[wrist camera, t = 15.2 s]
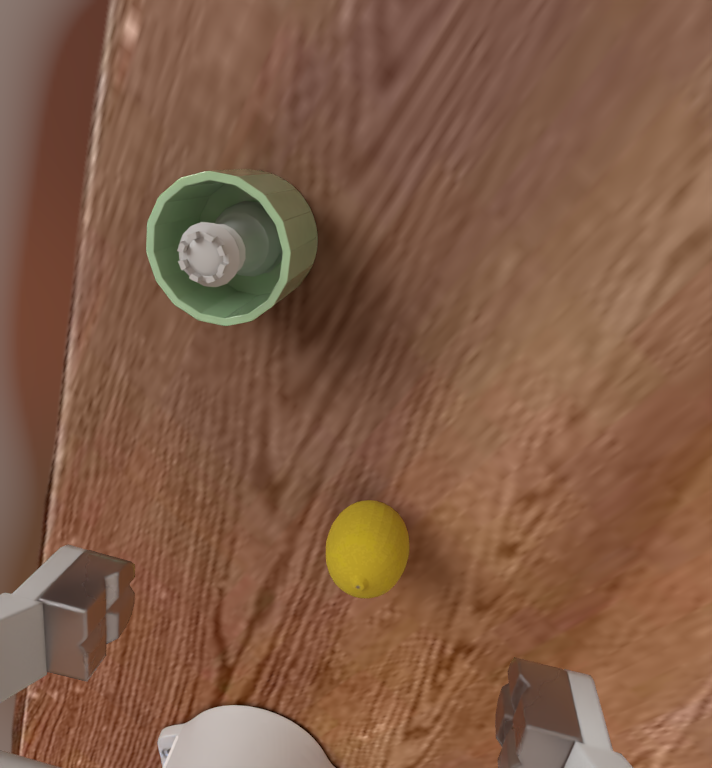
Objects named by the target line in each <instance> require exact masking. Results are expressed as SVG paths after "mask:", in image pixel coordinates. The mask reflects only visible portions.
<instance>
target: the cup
mask: <svg viewBox="0 0 712 768" xmlns="http://www.w3.org/2000/svg"><path fill="white" fill-rule="evenodd" d="M243 201H252V202H259V203H261V205H262V206H263V207H264V209H265V210H266V212H267V213H268V215H269V216H270V217H271V219H272V220H273V222H274V223H275V225H276V228H277V232H278V236H279V240H280V244H281V247H282V251H283V254H282V260H281V262H280V263H279V264H278V265H277V266H276V267H275V268H274V269H273V270H272V271H270V272H267V273H264V274H261V275H257V276H254V277H252V276H241V275H238V274H236V275H235V276H234V277H233V278H232V279H231V280H230V281H229V282H228V283H227V284H224V285H221V286H218V287H208V286H203V285H201V284H199V283H197V282H195V281H193V280H191V279H189V277H190V276H189V275H188V274H187V273H186V272H185V271H184V270H181V268H180V265H179V263H178V261H179V260H180V259H179V251H177V250H178V247H179V244H180V241H181V238H182V235H183V234H184V233H185V232H186V231H187V229H188V228H189V227H190V226H192V225H195V224H198V223H200V222H208V223H215V222H216V219H217V218H218V217H219V216H220V214H221V213H222V212H223V211H224V210H225V209H226V208H228V207H231V206H232V205H235V204H237V203H240V202H243ZM317 244H318V237H317V228H316V223H315V220H314V216H313V214H312V211H311V209H310V207H309V205H308V204H307V202H306V200H305V199H304V198H303V196H302V195H301V194H300V192H299V191H298V190H297V189H296V188H295V187H294V186H292V185H291V184H290V183H288V182H287V181H286V180H284V179H282V178H281V177H279V176H276V175H274V174H272V173H268V172H264V171H258V170H251V169H237V170H215V171H205V172H201V173H197V174H193V175H189V176H185V177H181V178H179V179H178V180H177V181H176V182H175V183H174V184H173V185H171V186H170V187H169V188H168V189H167V190H166V191H164V192H163V193H162V194H161V195H160V196H159V197H158V199H157V202H156V204H155V206H154V208H153V211H152V213H151V215H150V217H149V220H148V222H147V245H146V252H147V256H148V259H149V262H150V265H151V268H152V271H153V274H154V277H155V280H156V282H157V283H158V284H159V286H160V287H161V288H162V289H163V291H164V292H165V293H166V295H167V296H168V297H169V299H170V300H171V301H172V302H173V304H175V305H176V306H177V307H179V308H180V309H182V310H183V311H185V312H186V313H188V314H189V315H191V316H193V317H194V318H196V319H197V320H199V321H204V322H208V323H213V324H218V325H222V326H229V325H235V324H240V323H245V322H251V321H253V320H254V319H256V318H257V317H259V316H260V315H261V314H263V313H264V312H266V311H267V310H269V309H270V308H271V307H273V306H274V305H275V304H277V303H278V302H279V301H280V300H282V299H283V298H284V297H285V296H287V295H288V294H289V293H290V292H292V291H293V290H294V289H295V288H297V287H298V286H299V285H300V284H301V283H302V281H303V280H304V279H305V278H306V276H307V275H308V273H309V272H310V270H311V268H312V266H313V263H314V260H315V257H316V252H317Z"/></svg>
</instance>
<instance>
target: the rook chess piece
mask: <svg viewBox="0 0 712 768" xmlns="http://www.w3.org/2000/svg"><path fill="white" fill-rule="evenodd" d="M177 251H179V259H180V260H179V261H178V263H179V265H180V268H181V270H184V271H185V272H186V273H187V274H188V275H189V276H190V277H189V279H191V280H193V281H195V282H197V283H199V284H201V285H203V286H208V287H218V286H221V285H224V284H227V283H228V282H229V281H230V280H231V279H232V278H233V277H234V276H235V275H236V274H238V275H241V276H252V277H254V276H257V275H261V274H264V273H267V272H270V271H272V270H273V269H274V268H275V267H276V266H277V265H278V264H279V263H280V262H281V260H282V254H283V251H282V247H281V244H280V240H279V236H278V232H277V228H276V225H275V223H274V222H273V220H272V219H271V217H270V216H269V215H268V213H267V212H266V210H265V209H264V207H263V206H262V205H261V203H259V202H252V201H243V202H240V203H237V204H235V205H232V206H231V207H228V208H226V209H225V210H224V211H223V212H222V213H221V214H220V216H219V217H218V218H217V219H216V222H215V223H208V222H200V223H198V224H195V225H192V226H190V227H189V228H188V229H187V231H186V232H185V233H184V234H183V235H182V238H181V241H180V244H179V247H178V250H177Z"/></svg>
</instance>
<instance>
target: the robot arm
mask: <svg viewBox="0 0 712 768" xmlns="http://www.w3.org/2000/svg"><path fill="white" fill-rule="evenodd" d="M134 577H135V564H133V563H132V562H131V561H127V560H123V559H120V558H116V557H113V556H109V555H105V554H102V553H98V552H95V551H91V550H85V549H82V548H78V547H75V546H71V545H66V546H63V547H61V548H59V549H58V550H57V551H56V552H55V553H54V554H53V555H52V556H51V557H50V558H49V559H48V560H47V561H46V562H45V563H44V564H43V565H42V566H41V567H40V568H39V569H37V570H36V571H35V572H34V573H33V574H32V575H31V576H30V577H29V578H28V579H27V580H26V581H25V582H24V583H23V584H22V585H21V586H20V587H19V588H18V589H17V590H16V591H14V593H12V594H9V593H3V594H0V703H1V702H3V701H4V700H6V699H8V698H9V697H11V696H13V695H14V694H16V693H17V692H19V691H21V690H22V689H24V688H26V687H27V686H29V685H31V684H32V683H34V682H35V681H37V680H39V679H40V678H42V677H44V676H45V675H47V672H50V673H54V674H58V675H62V676H66V677H71V678H75V679H79V680H83V681H88V680H89V678H90V677H91V676H92V674H93V673H94V671H95V670H96V669H97V667H98V666H99V664H100V663H101V662H102V660H103V659H104V658H105V656H106V644H108V643H110V642H112V641H114V640H116V639H118V638H119V637H120V635H121V634H122V632H123V631H124V629H125V628H126V626H127V624H128V621H129V619H130V617H131V615H132V611H133V607H134V599H135V593H134V591H133V590H132V588H131V587H130V585H129V584H130V583H131V581H132V580H133V579H134ZM508 680H509V683H508V684H506V685H505V686H503V687H502V689H501V692H500V695H499V698H498V703H497V709H496V722H495V728H496V739H497V740H498V742H499V743H500V744H501V746H502V749H501V752H500V755H499V757H498V768H633V767H632V766H631V765H630V763H629V762H628V761H627V760H626V759H625V758H624V756H623V755H622V754H621V753H617V752H613V748H612V745H611V741H610V738H609V734H608V730H607V727H606V723H605V719H604V716H603V712H602V709H601V705H600V701H599V698H598V694H597V690H596V687H595V683H594V680H593V679H592V677H591V676H590V675H587V674H583V673H578V672H574V671H570V670H566V669H564V670H563V669H561V668H557V667H553V666H548V665H544V664H540V663H536V662H532V661H528V660H524V659H519V658H515V657H514V659H513V660H512V661H511V663H510V666H509V669H508ZM158 748H159V753H160V757H161V762H162V766H163V768H335V767H334V766H333V765H332V764H331V762H330V761H329V760H328V758H327V756H326V755H325V753H324V751H323V750H322V748H321V747H320V745H319V744H318V743H317V742H316V741H315V739H314V738H313V737H312V736H311V735H310V734H308V733H307V732H306V731H305V730H304V729H302V728H301V727H300V726H298V725H297V724H295V723H294V722H292V721H290V720H288V719H287V718H285V717H283V716H280V715H278V714H276V713H273V712H270V711H267V710H264V709H260V708H256V707H251V706H242V705H227V706H220V707H215V708H212V709H209V710H206V711H204V712H202V713H200V714H199V715H197V716H196V717H195V718H193V719H192V720H190V721H189V722H187V723H185V724H179V725H173V726H169V727H166V728H164V729H163V730H162V731H161V734H160V736H159V739H158ZM0 768H60V767H57V766H53V765H50V764H47V763H43V762H40V761H36V760H33V759H29V758H26V757H22V756H19V755H15V754H12V753H8V752H5V751H2V750H0Z"/></svg>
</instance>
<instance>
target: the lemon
mask: <svg viewBox="0 0 712 768" xmlns="http://www.w3.org/2000/svg"><path fill="white" fill-rule="evenodd" d="M408 556H409V535H408V532H407V529H406V526H405V523H404V521H403V520H402V518H401V517H400V515H399V514H398V513H397V512H396V511H395V510H394V509H393V508H391V507H390V506H388V505H386V504H384V503H382V502H378V501H372V500H366V501H360V502H357V503H354V504H352V505H350V506H348V507H347V508H346V509H344V510H343V511H342V512H341V513H340V514H339V516H338V517H337V518H336V520H335V521H334V522H333V524H332V526H331V529H330V532H329V534H328V537H327V542H326V563H327V567H328V571H329V574H330V576H331V577H332V579H333V581H334V583H335V584H336V585H337V586H338V587H339V588H340V589H341V590H343V591H344V592H346V593H347V594H349V595H351V596H354V597H358V598H373V597H378V596H380V595H382V594H384V593H386V592H388V591H389V590H390V589H391V588H392V587H393V586H394V585H395V584H396V583H397V581H398V580H399V578H400V577H401V575H402V573H403V572H404V569H405V567H406V563H407V560H408Z"/></svg>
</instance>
